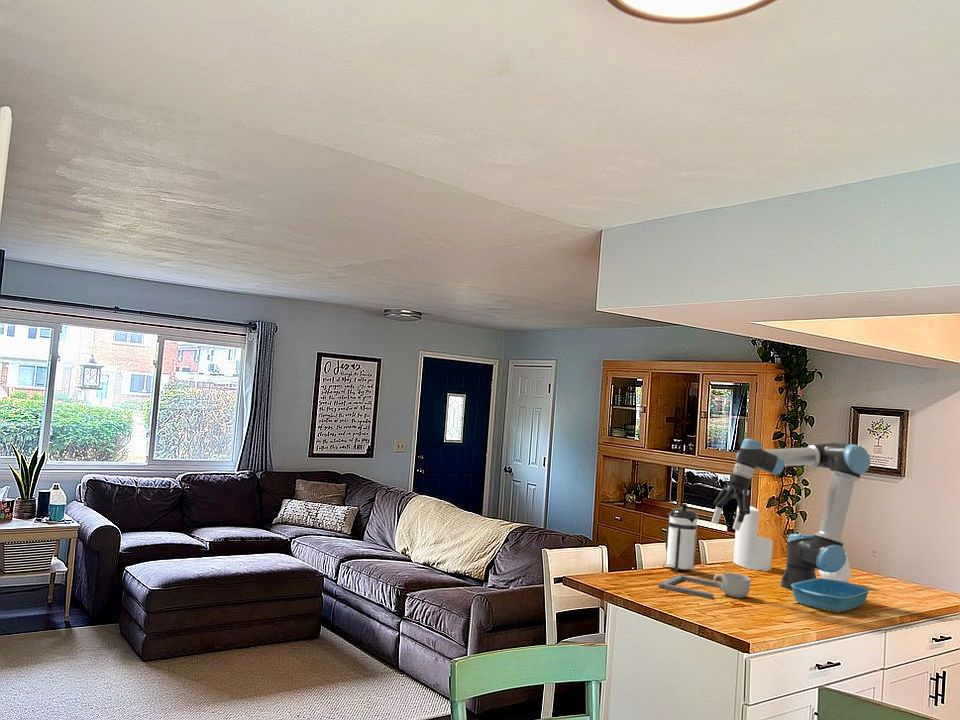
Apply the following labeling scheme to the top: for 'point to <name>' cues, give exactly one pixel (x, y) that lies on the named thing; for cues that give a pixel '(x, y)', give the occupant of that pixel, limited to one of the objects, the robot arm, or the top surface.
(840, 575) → the cup
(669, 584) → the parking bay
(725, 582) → the teacup
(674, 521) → the coffee press
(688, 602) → the top surface
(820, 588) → the casserole dish
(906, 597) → the top surface
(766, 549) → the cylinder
